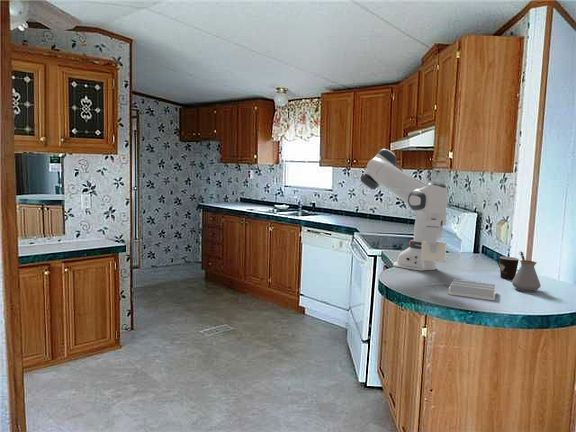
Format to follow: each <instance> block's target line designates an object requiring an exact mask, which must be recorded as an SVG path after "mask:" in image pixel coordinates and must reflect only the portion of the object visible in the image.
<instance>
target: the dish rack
mask: <svg viewBox="0 0 576 432" xmlns="http://www.w3.org/2000/svg"><path fill="white" fill-rule="evenodd" d="M496 294H497V287H496V284H495V283H490V282H489V283H487V282H481V281H480V282H479V281H472V280H463V279H455V278H453V279H452V281H451V283H450V285H449V287H448V292H447V295H451V296H452V295H453V296H460V297H461V296H462V297H468V298H476V299H481V300H488V301H495V300H496Z"/></svg>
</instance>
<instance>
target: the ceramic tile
mask: <svg viewBox="0 0 576 432" xmlns="http://www.w3.org/2000/svg"><path fill="white" fill-rule="evenodd" d="M430 251H431V248H430V244H427V242H426V241H422V245H421V260H428V261H435V262H439V263H445V262H446V257H447V256H446V255H447V242H440V241H438V242H437V243H436V245H435V253H431V252H430Z"/></svg>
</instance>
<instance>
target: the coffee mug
mask: <svg viewBox="0 0 576 432" xmlns="http://www.w3.org/2000/svg"><path fill="white" fill-rule="evenodd" d="M496 262H497V265H498V267H499V273H500V276H499V277H500V279H504V280H511V281H513V279H514V277H515V275H516V274H517V272H518V265H519V262H520V259H519V258H517V257H512V256H499V258H498V259H497V261H496Z"/></svg>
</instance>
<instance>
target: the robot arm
mask: <svg viewBox="0 0 576 432" xmlns="http://www.w3.org/2000/svg"><path fill="white" fill-rule="evenodd" d="M397 158H398V157H397V156H396V154H395V153H394V151H392V150H390V149H386V148H382V149H380V151H379V150H378V152H377V153H376V155H375V156H374V157H373V158H371V159H370V160H369V161H368V162H367V165H366V168H365V169H364V172H363V173H362V174H361V175H360V182H361V183H362V185H363V186H364V187H365V188H367V189H371V190H376V189H377V188H378V187H379V186H382V187H384V188H386V189H387V190H388V191H389V192H390V193H392V194H393V195H394V196H396V197H397V198H398V199H399V200H401V201H402V202H403V203H405V204H406V205H408V206H409V208H410V209H411V210H412V211H416V212H415V219H414V220H415V221H414V228H413V239H411V240H409V243H408V244H409V245H408V247H407V248H406V249H404V250H402V251H401V252H400V253H399V254H398V256H397V261H394V262H392V266H393V267H395V268H402V269H403V268H404V269H407V270H415V271H433V270H436V269H437V265H436V261H428V260H421V245H422V241H426V242H427V244H430V248H431V251H430V252H431V253H435V245H436V243H437V242H440V240H441V239H442V234H443V233H442V230H443V228H444V226H446V225H447V217H448V216H447V214H448V213H447V206H448V200H449V198H448V197H449V196H448V195H449V193H448V192H449V191H448V187H447V185H446V184H444V183H440V182H435V181H434V182H433V181H430V182H428V183H427V184H424V182H422V181H420V180H418V179H417V178H414V177H413V176H411V175H409V174H407V173H406V172H404V171H403V170H401V169H399V168H398V167H397V162H398V161H397Z"/></svg>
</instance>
